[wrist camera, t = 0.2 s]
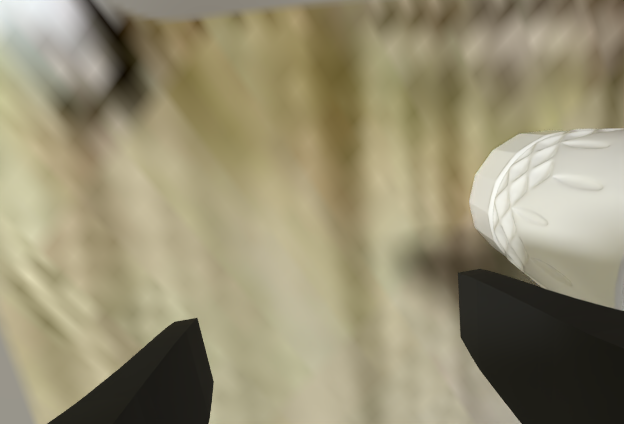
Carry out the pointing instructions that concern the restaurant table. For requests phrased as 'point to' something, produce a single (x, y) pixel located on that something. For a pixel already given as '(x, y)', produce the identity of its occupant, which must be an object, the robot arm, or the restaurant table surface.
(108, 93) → the restaurant table surface
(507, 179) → the white cup
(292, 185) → the restaurant table surface
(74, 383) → the restaurant table surface
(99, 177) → the restaurant table surface
